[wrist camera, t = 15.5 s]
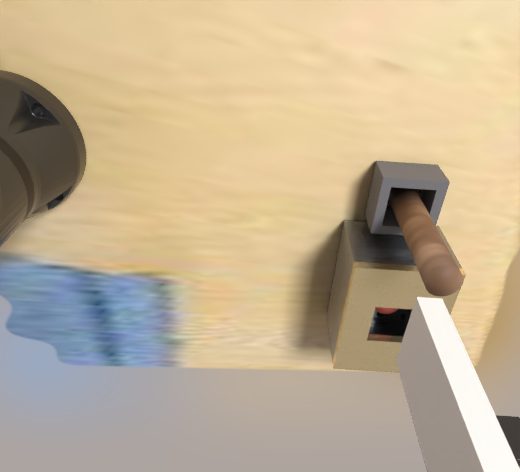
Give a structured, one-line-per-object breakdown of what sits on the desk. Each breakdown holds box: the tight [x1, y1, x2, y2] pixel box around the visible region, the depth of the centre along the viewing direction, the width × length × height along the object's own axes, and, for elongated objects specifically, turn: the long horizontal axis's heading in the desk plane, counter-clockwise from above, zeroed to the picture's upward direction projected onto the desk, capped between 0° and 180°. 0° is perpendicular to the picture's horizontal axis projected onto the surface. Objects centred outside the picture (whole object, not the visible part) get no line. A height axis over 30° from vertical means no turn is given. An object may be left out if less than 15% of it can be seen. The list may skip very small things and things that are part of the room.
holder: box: [365, 161, 449, 235], centre depth 48 cm, size 7×7×4 cm
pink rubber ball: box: [375, 307, 398, 314], centre depth 53 cm, size 3×3×3 cm
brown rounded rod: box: [388, 187, 463, 297], centre depth 43 cm, size 3×3×16 cm
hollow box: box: [327, 220, 466, 373], centre depth 53 cm, size 11×15×9 cm
